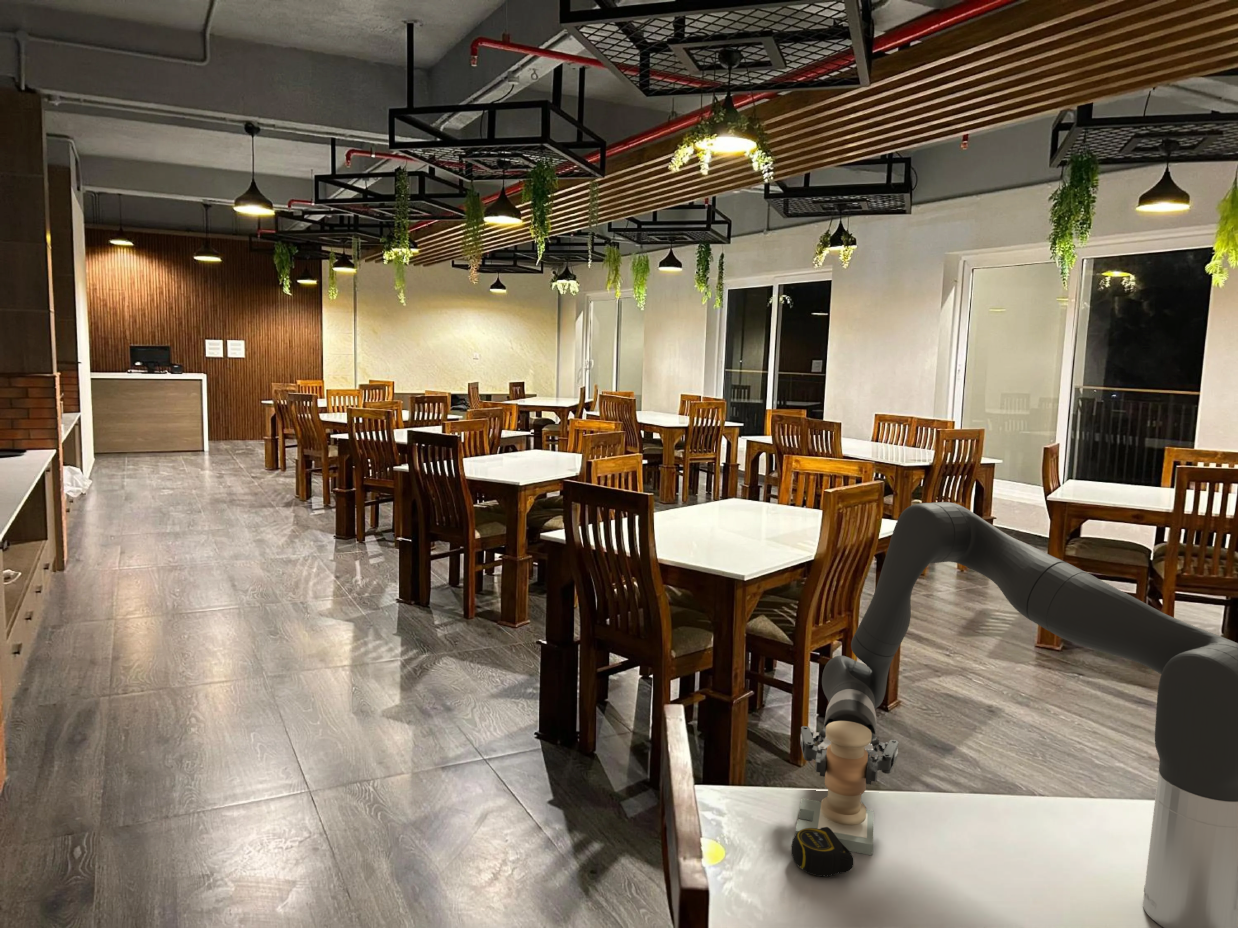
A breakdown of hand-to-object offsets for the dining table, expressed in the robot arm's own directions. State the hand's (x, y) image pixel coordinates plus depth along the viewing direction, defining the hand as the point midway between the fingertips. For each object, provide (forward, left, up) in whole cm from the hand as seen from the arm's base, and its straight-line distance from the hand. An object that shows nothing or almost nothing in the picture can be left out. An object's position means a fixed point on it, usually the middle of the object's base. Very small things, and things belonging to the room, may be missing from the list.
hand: (845, 773), depth 116 cm
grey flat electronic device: (+1, -2, -10) cm, 10 cm away
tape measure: (+2, +6, -10) cm, 12 cm away
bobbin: (0, -3, -7) cm, 7 cm away
